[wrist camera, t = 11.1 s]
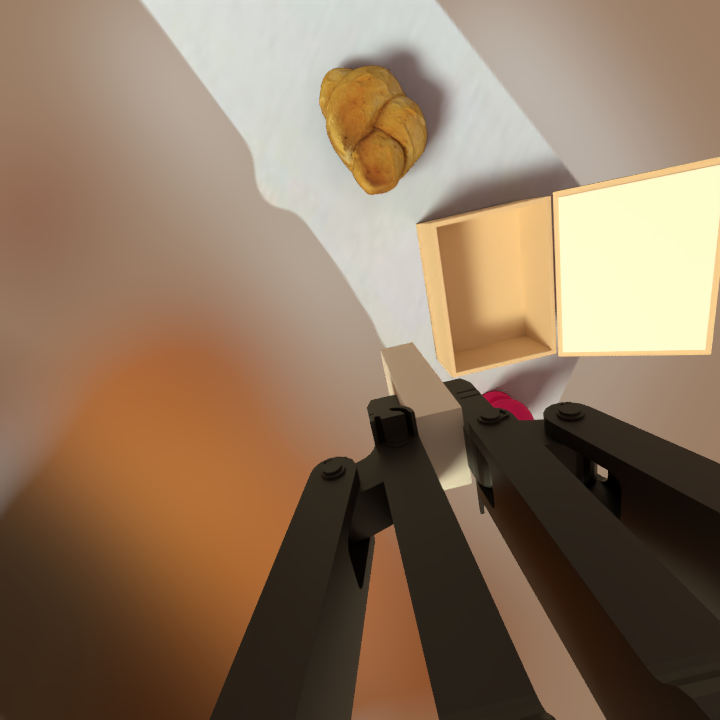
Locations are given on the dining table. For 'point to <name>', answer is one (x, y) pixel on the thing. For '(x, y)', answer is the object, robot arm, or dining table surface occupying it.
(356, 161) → the bread roll
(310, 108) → the dining table surface
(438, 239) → the mailer box
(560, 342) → the lid
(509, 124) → the dining table surface
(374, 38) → the dining table surface
